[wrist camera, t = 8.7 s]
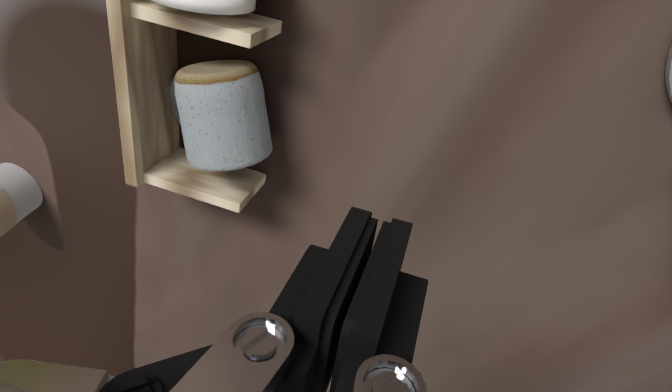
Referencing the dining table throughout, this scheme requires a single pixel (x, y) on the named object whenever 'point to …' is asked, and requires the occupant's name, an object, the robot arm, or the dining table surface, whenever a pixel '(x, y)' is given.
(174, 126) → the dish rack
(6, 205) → the coffee cup
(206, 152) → the ceramic mug
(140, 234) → the dining table surface
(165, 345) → the dining table surface
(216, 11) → the white plate
